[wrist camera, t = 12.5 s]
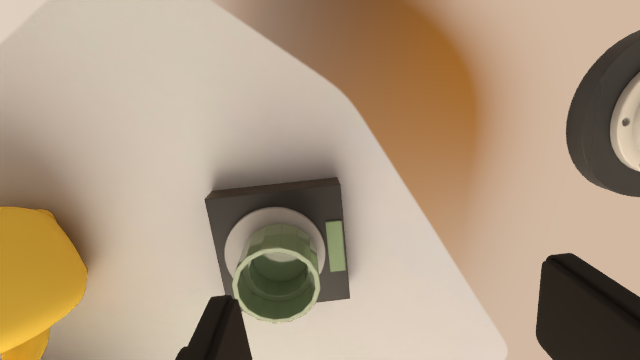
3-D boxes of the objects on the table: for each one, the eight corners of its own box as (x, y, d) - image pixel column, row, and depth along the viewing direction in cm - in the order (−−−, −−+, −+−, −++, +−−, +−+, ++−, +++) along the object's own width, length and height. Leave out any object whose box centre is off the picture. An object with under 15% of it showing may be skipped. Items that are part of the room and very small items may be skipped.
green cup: (313, 217, 31) (315, 243, 26) (320, 282, 33) (323, 317, 28) (237, 226, 31) (225, 253, 26) (250, 290, 33) (240, 327, 28)
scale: (337, 177, 33) (340, 186, 30) (347, 285, 37) (350, 302, 34) (211, 191, 33) (202, 201, 30) (233, 298, 37) (228, 316, 34)
